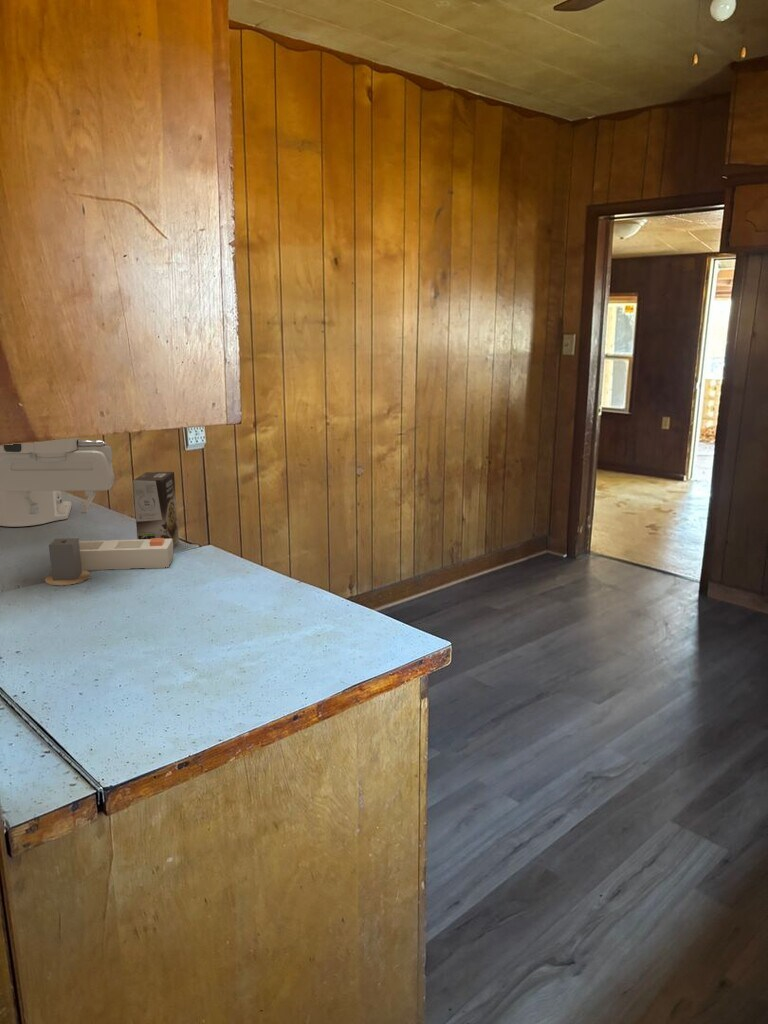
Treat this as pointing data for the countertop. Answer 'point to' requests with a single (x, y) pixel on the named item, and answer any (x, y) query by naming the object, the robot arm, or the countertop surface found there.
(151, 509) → the coffee box
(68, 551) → the block
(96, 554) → the power strip
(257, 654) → the countertop surface
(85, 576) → the coaster
